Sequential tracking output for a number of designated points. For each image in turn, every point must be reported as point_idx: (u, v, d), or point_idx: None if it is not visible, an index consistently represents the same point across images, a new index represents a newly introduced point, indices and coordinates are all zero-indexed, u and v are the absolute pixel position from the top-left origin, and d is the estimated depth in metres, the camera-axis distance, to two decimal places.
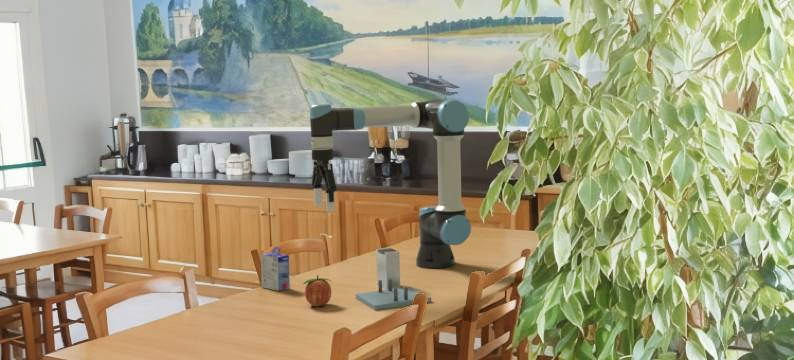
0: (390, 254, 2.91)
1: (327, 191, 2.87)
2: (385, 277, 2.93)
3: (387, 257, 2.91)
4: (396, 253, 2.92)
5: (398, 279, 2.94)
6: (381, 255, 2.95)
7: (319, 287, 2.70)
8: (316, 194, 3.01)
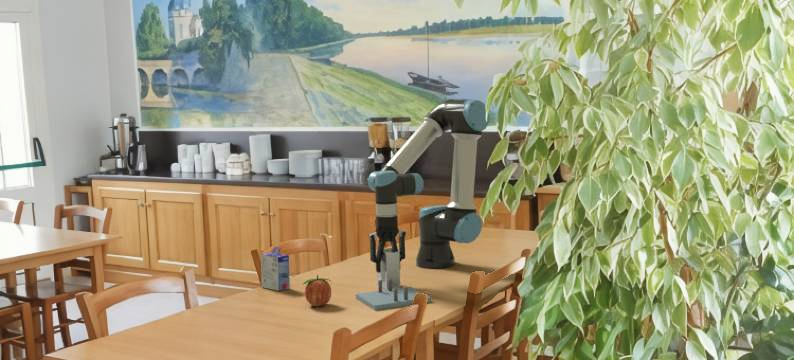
0: (390, 254, 2.91)
1: None
2: (385, 276, 2.93)
3: (387, 257, 2.91)
4: (396, 253, 2.92)
5: (398, 279, 2.94)
6: None
7: (319, 287, 2.70)
8: None
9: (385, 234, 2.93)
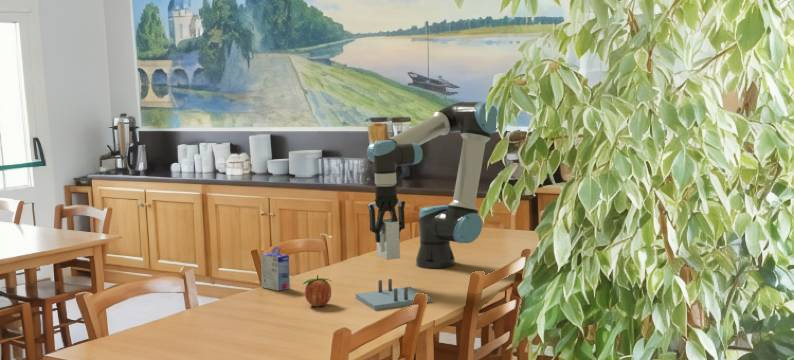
0: (389, 224, 2.90)
1: None
2: (384, 246, 2.92)
3: (386, 227, 2.90)
4: (395, 223, 2.91)
5: (398, 249, 2.92)
6: None
7: (319, 287, 2.70)
8: None
9: (384, 204, 2.92)
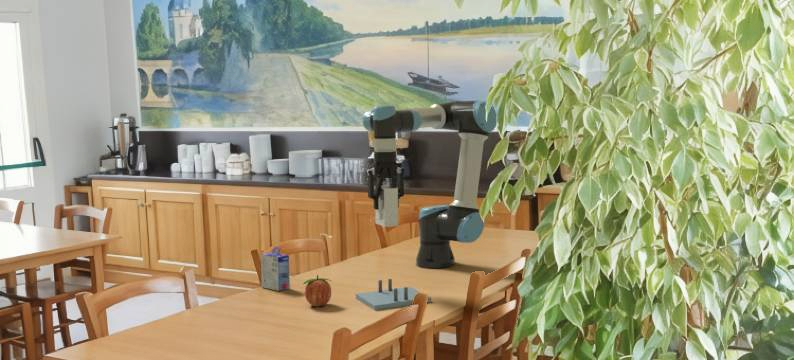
0: (388, 190, 2.85)
1: None
2: (382, 213, 2.86)
3: (385, 193, 2.84)
4: (394, 189, 2.85)
5: (396, 216, 2.87)
6: None
7: (319, 287, 2.70)
8: None
9: (383, 170, 2.86)
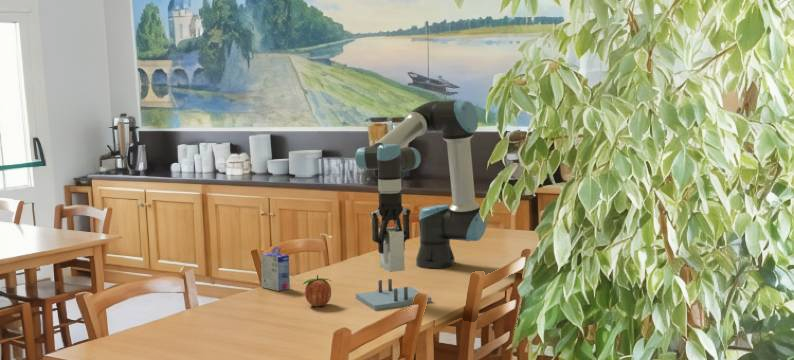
0: (394, 233, 2.71)
1: None
2: (388, 257, 2.73)
3: (390, 236, 2.71)
4: (400, 232, 2.72)
5: (402, 260, 2.73)
6: None
7: (319, 287, 2.70)
8: None
9: (388, 212, 2.73)
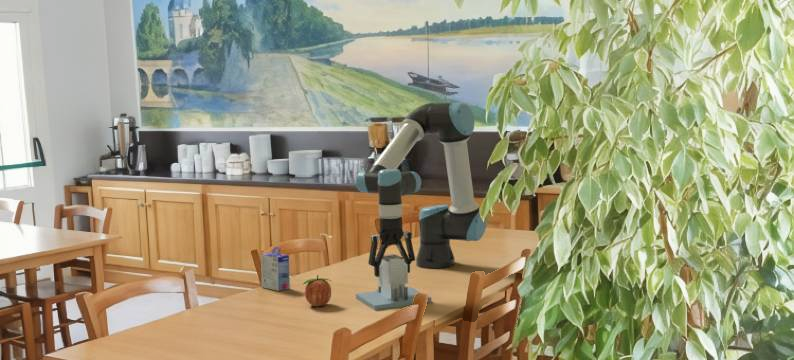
0: (394, 261, 2.72)
1: None
2: (389, 285, 2.74)
3: (391, 264, 2.72)
4: (401, 260, 2.73)
5: (403, 287, 2.75)
6: (385, 262, 2.76)
7: (319, 287, 2.70)
8: None
9: (389, 237, 2.74)
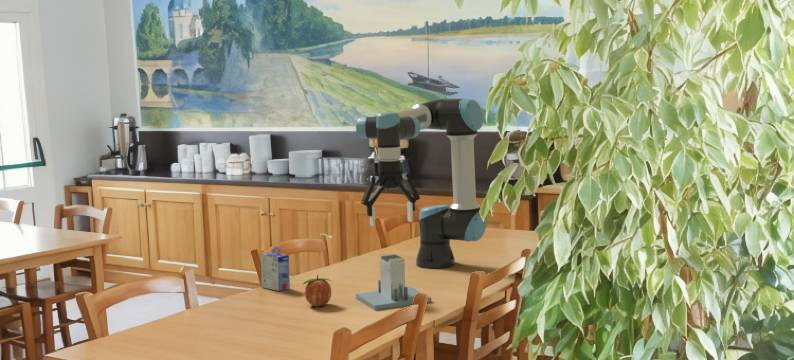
0: (394, 261, 2.72)
1: None
2: (389, 285, 2.74)
3: (391, 264, 2.72)
4: (401, 260, 2.73)
5: (403, 287, 2.75)
6: (385, 262, 2.76)
7: (319, 287, 2.70)
8: (407, 208, 2.81)
9: (388, 180, 2.74)
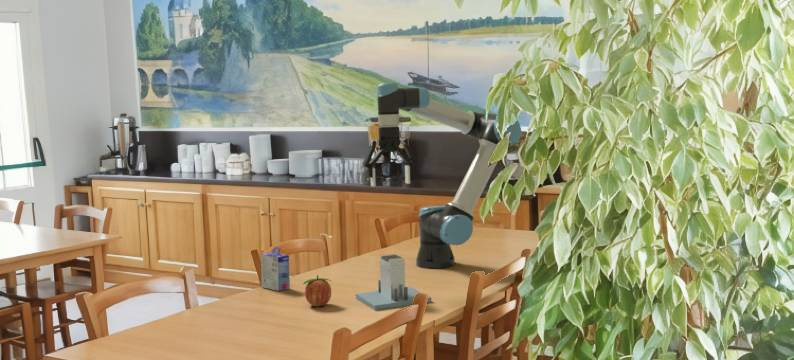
0: (394, 261, 2.72)
1: None
2: (389, 285, 2.74)
3: (391, 264, 2.72)
4: (401, 260, 2.73)
5: (403, 287, 2.75)
6: (385, 262, 2.76)
7: (319, 287, 2.70)
8: (405, 171, 3.07)
9: (387, 144, 3.01)
